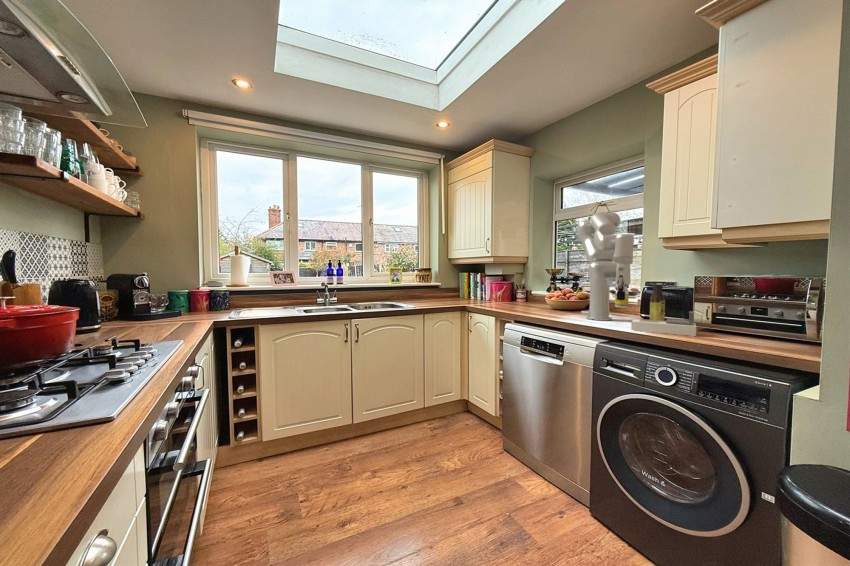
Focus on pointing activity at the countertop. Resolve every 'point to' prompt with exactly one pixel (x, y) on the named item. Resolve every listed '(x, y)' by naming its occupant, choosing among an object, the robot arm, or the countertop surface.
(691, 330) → the holder
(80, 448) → the countertop surface
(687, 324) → the grey l-shaped bracket
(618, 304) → the supplement bottle
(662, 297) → the sauce bottle
